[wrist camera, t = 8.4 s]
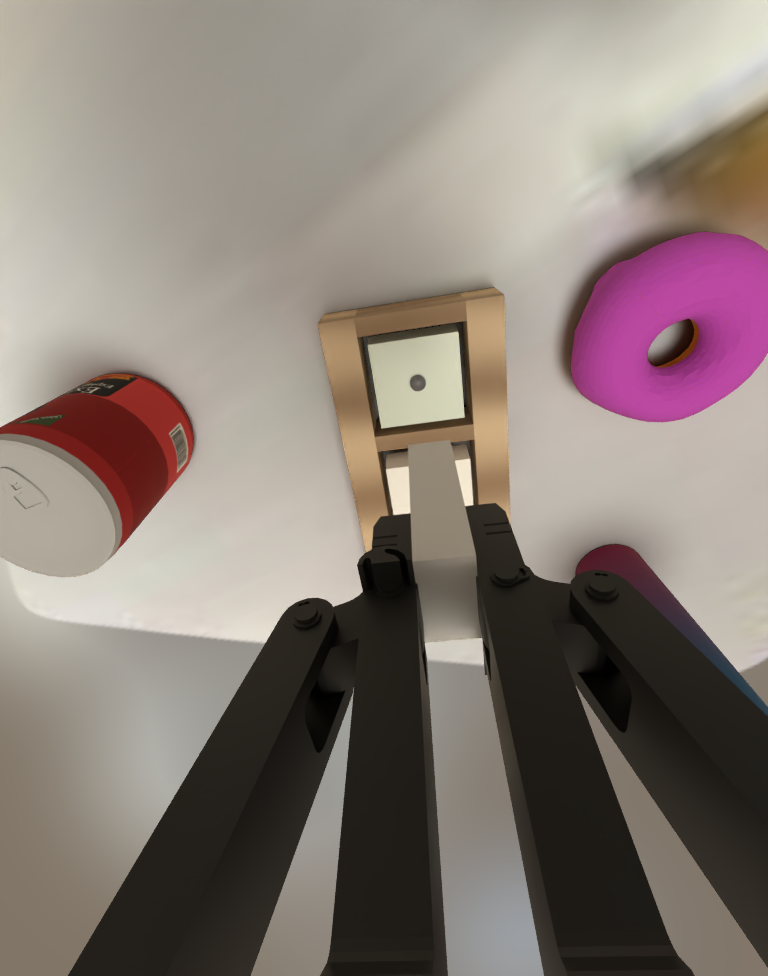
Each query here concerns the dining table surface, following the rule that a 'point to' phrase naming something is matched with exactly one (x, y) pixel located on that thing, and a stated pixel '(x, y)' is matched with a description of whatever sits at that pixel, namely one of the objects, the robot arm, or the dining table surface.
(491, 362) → the panel
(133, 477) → the canned food
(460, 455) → the button
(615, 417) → the dining table surface
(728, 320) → the donut
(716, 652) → the cup
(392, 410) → the button
